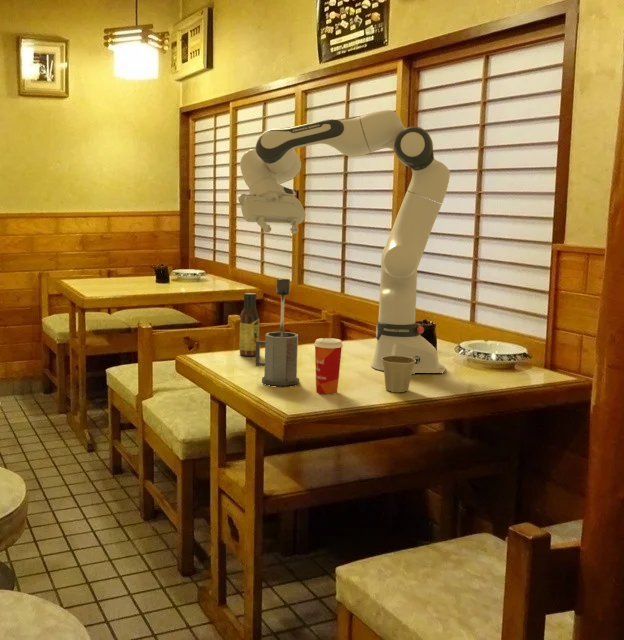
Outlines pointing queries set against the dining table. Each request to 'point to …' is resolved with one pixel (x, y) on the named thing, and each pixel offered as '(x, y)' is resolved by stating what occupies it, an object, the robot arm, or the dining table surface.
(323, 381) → the paper cup
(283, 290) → the plunger
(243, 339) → the sauce bottle
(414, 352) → the robot arm
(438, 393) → the dining table surface
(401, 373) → the flower pot
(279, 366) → the press pot
